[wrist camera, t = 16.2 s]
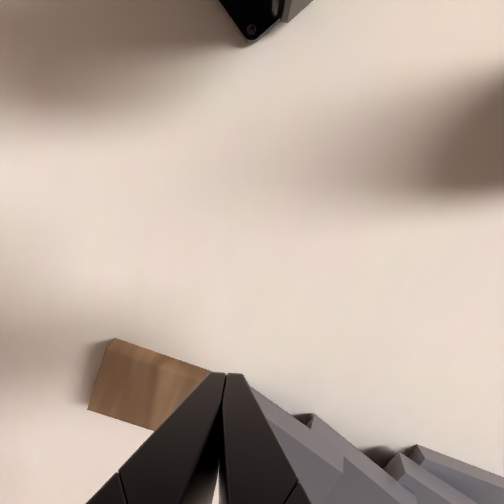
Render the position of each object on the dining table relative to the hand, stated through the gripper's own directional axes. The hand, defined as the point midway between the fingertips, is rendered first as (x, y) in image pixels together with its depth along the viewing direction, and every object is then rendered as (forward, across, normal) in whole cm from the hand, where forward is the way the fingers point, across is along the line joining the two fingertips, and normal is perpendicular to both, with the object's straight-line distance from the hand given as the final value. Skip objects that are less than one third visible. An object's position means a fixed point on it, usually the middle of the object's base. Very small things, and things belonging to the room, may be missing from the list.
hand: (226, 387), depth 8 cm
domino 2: (+11, +1, +11) cm, 16 cm away
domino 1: (+12, +9, +9) cm, 17 cm away
